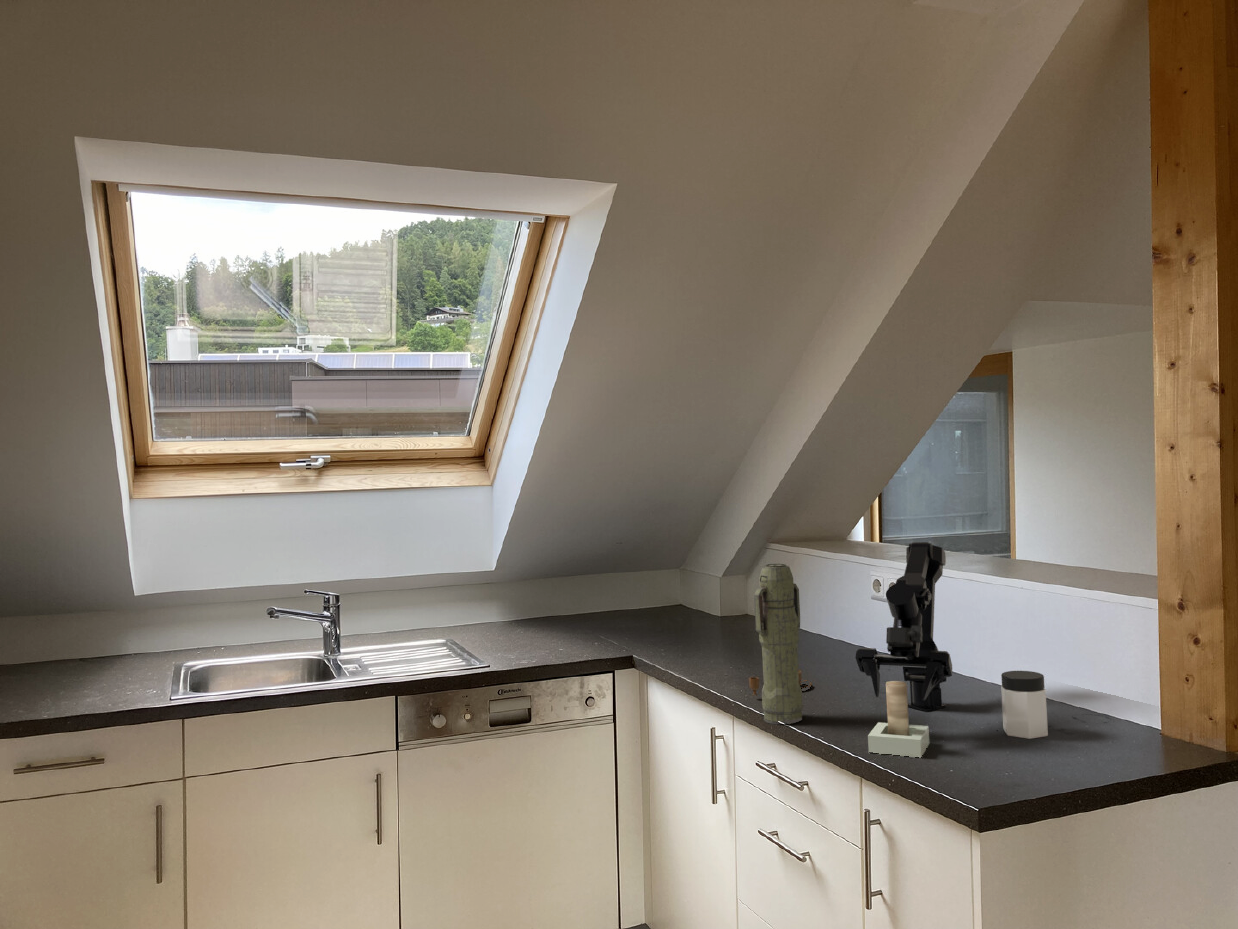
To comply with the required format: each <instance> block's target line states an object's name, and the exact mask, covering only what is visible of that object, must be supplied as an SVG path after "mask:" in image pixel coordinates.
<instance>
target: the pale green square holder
mask: <svg viewBox="0 0 1238 929" xmlns="http://www.w3.org/2000/svg"><path fill="white" fill-rule="evenodd" d="M929 728H930V727H929V725H918V724H909V736H903V735H891V734H888V722H880V721H878V722H877V723H876V725H875V726H874V727H873V728H872V730H871V731H870V732H869V733H868V735H867V744H868V746H867V747H868V753H869V752H873V753H879V754H878V755H881V754H892V755H891V756H893V755H900V756H899V757H904V756H909V757H908V758H915V757H919V758H918V759H922V758H923V756H922V755H924V754H925V752H926V750H927V749H926V748H928V747H929V745H930V731H929V730H930V729H929ZM921 757H922V758H921Z"/></svg>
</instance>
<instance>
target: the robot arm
mask: <svg viewBox="0 0 1238 929" xmlns="http://www.w3.org/2000/svg"><path fill="white" fill-rule="evenodd" d="M905 559H906V566H905V571H904V574H903V575H902V576H900V577H898V578H897V579H896V581H895V584H892V585H891V586H890V587H889V588H887V589H886V592H885V597H886V601H887V604H888V605H887V606H888V607H889V610H890V615H891V617H892V618H893V624H892V626H893V627H891V626H889V627H886V639H885V643H886V644H887V646H886V649H887V652H888V653H889V655H887V654H878V651H877V648H875V647H874V648H872V647H870V648H869V647H859V648H858V649H857V650H856V651H855V661H856V664H857V666H858V669H859V672H861V673H864V674H865V675H866V676H867V677H870V678H871V682H872V686H873V690H874V694H875V698H876V699H877V698H879V697H880V689H881V686H880V685H881V673H880V670H881V669H880V668H881V666H897V667H898V666H899V667H902V674H903V679H904V680H903V682H909V690H910V702H908V708H912V709H916V710H920V711H924V712H929V711H933V710H939V709H943V708H946V707H947V704H945V703H942V702H943V701H942V699H943V698H942V697H943V696H942V688H941V684H942V683H945V682H947V678H950V677H952V676H953V662H952V660H951V659H952V658H951V654H950V653H949V652H948V651H947V650H946V651H945V650H939V649H938V646H937V644H936V643H935V641H934V626H935V623H934V622H935V602H936V601H935V599H936V583H937V582H938V581H939V579H940V578H941V577H942V576H943V573H944V572H943V571H944V566H946V561H947V558H946V552H945V549H944V548H943V547H941V546H938V545H934V544H933V543H930V542H929V541H927V542H926V541H916V542H915V541H914V542H911V543H909V544H908V546H907V547H906V558H905Z"/></svg>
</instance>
